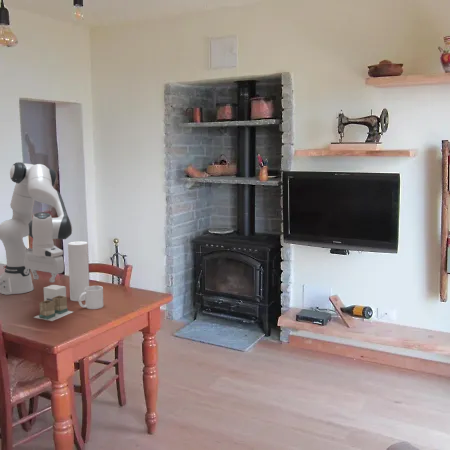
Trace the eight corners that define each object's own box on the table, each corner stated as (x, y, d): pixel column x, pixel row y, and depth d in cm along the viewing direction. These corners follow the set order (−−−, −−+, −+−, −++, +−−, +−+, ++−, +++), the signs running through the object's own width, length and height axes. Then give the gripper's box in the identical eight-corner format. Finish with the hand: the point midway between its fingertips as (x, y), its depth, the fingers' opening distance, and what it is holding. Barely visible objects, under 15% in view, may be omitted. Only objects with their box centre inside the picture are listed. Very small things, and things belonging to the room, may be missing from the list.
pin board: (33, 319, 232) (32, 306, 231) (55, 310, 244) (55, 298, 243) (52, 323, 227) (51, 310, 226) (73, 314, 240) (73, 301, 239)
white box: (43, 305, 252) (42, 287, 250) (53, 302, 258) (53, 284, 256) (56, 308, 248) (55, 290, 247) (66, 304, 255) (65, 286, 253)
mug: (82, 314, 240) (81, 292, 238) (75, 309, 246) (74, 288, 245) (106, 309, 248) (105, 288, 246) (98, 305, 254) (98, 284, 252)
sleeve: (39, 317, 231) (38, 302, 230) (47, 314, 235) (46, 299, 234) (47, 319, 229) (47, 304, 228) (55, 316, 233) (54, 301, 232)
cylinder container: (84, 304, 255) (81, 244, 250) (66, 302, 257) (64, 243, 252) (92, 298, 264) (91, 240, 260) (76, 297, 266) (73, 239, 262)
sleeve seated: (52, 312, 238) (51, 298, 237) (59, 309, 242) (59, 295, 241) (60, 314, 236) (59, 299, 235) (67, 311, 240) (67, 296, 239)
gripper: (20, 248, 229) (21, 279, 231) (55, 254, 220) (56, 285, 222) (31, 246, 234) (32, 275, 236) (66, 251, 226) (66, 282, 228)
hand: (44, 280), depth 229 cm, fingers open, 8 cm apart
